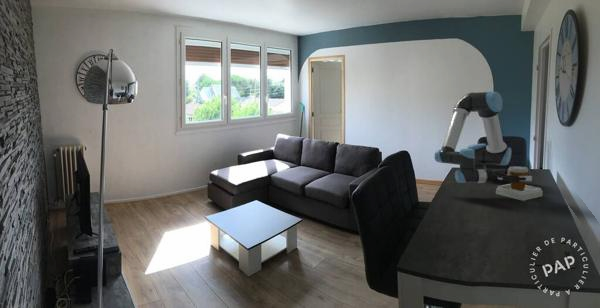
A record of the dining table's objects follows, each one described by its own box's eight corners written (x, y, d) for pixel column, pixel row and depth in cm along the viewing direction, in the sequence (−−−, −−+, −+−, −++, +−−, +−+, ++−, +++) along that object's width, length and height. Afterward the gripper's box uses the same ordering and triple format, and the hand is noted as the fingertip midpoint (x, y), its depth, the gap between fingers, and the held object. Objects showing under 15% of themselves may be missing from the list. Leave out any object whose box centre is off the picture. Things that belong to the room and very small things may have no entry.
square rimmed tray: (514, 189, 207) (514, 182, 206) (542, 196, 193) (542, 188, 192) (495, 193, 201) (496, 186, 200) (522, 200, 186) (523, 192, 186)
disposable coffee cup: (522, 186, 198) (522, 166, 197) (531, 190, 189) (532, 168, 187) (504, 187, 199) (505, 166, 198) (513, 190, 189) (513, 169, 188)
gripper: (476, 177, 211) (514, 177, 207) (493, 188, 186) (536, 187, 183) (477, 165, 209) (515, 164, 206) (493, 174, 185) (537, 173, 182)
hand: (525, 175), depth 195 cm, fingers open, 13 cm apart
